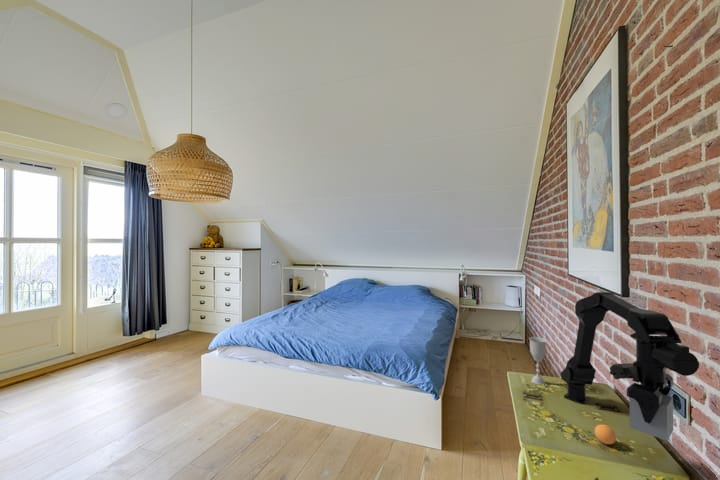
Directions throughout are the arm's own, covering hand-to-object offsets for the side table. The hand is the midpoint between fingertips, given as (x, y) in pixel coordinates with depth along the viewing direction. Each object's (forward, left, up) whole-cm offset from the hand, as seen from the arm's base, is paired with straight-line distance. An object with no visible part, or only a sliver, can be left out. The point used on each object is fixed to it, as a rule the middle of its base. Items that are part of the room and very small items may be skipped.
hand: (650, 417), depth 84 cm
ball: (0, -10, -10) cm, 14 cm away
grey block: (0, 0, -3) cm, 3 cm away
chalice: (-26, -40, -12) cm, 49 cm away
